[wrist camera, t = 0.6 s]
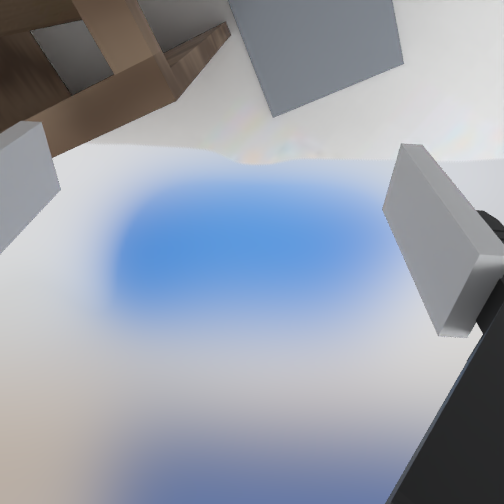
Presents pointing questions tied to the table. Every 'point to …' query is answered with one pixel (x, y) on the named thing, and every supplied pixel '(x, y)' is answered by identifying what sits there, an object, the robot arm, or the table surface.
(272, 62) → the mat
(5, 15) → the wooden block
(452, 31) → the table surface
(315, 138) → the table surface
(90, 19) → the cubby
